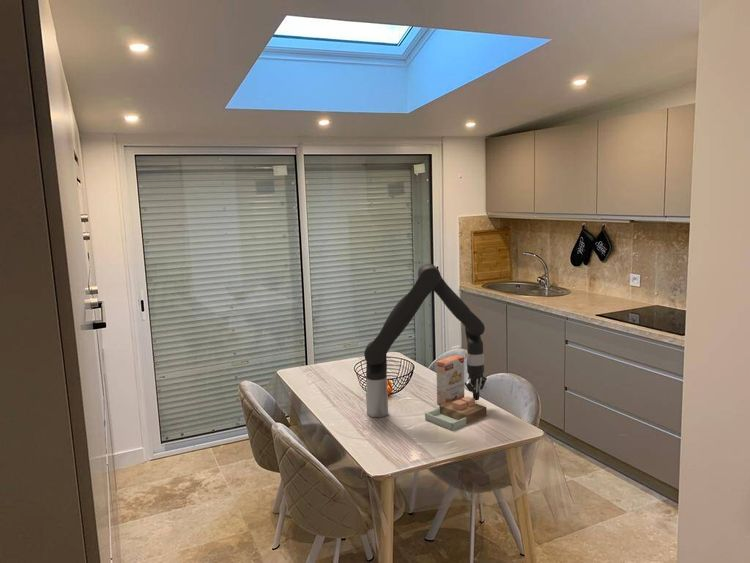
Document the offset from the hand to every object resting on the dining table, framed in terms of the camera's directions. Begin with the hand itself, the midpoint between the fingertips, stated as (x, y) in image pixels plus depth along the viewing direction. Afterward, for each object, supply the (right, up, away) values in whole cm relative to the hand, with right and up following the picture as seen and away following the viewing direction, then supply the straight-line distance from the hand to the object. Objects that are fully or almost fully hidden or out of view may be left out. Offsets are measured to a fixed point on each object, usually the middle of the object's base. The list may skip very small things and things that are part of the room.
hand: (476, 399), depth 246 cm
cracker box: (-10, -4, +12) cm, 16 cm away
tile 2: (-4, -1, -4) cm, 6 cm away
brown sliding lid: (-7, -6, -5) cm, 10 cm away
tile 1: (-9, -2, -7) cm, 11 cm away
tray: (-15, -7, -12) cm, 21 cm away
